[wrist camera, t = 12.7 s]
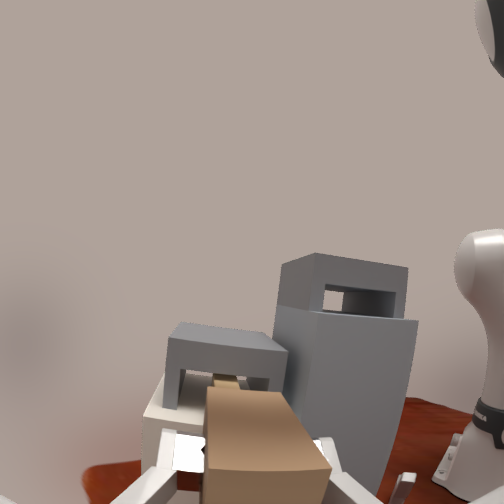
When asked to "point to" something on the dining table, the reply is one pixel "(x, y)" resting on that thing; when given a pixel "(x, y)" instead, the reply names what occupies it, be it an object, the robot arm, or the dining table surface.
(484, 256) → the robot arm
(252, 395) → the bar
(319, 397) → the stand
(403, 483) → the lighter
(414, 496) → the dining table surface
